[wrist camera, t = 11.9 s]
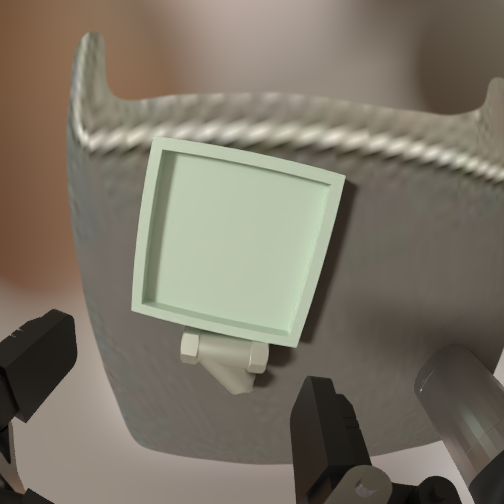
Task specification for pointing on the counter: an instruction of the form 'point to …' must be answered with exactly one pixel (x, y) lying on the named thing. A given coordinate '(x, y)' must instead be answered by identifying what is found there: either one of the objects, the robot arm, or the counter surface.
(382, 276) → the counter surface
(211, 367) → the pipe fitting
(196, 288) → the tray
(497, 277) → the counter surface
